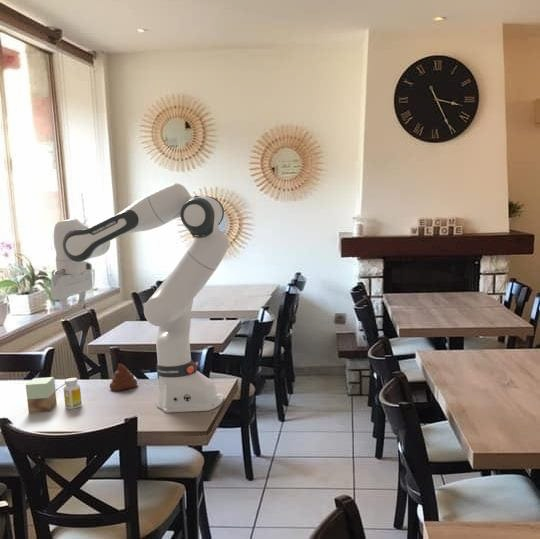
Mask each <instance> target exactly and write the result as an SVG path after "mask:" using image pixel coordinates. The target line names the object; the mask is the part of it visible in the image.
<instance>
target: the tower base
mask: <svg viewBox="0 0 540 539" xmlns="http://www.w3.org/2000/svg"><path fill="white" fill-rule="evenodd" d="M26 399H27V398H26ZM26 401H27V408H28V409H27V410H28V414H38V413H39V414H40V413H50V412H51V411H52V410H53V409H54V408H55V407H56V406H57V393H56V391H55V392H54V393H53V394H52V395H51V396H50V397H49V398H38V399H27V400H26Z"/></svg>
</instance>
